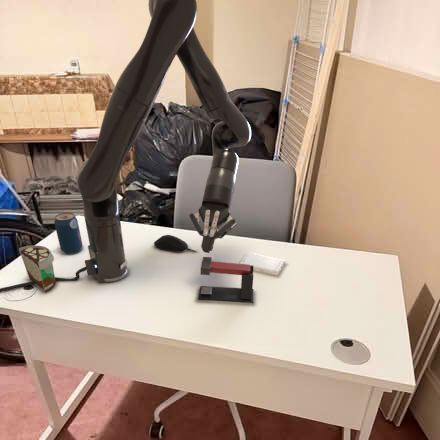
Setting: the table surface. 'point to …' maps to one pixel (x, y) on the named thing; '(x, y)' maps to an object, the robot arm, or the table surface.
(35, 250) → the food container
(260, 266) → the hard drive
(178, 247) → the gaming mouse
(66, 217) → the soda can
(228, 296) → the stapler base
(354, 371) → the table surface
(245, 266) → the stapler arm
